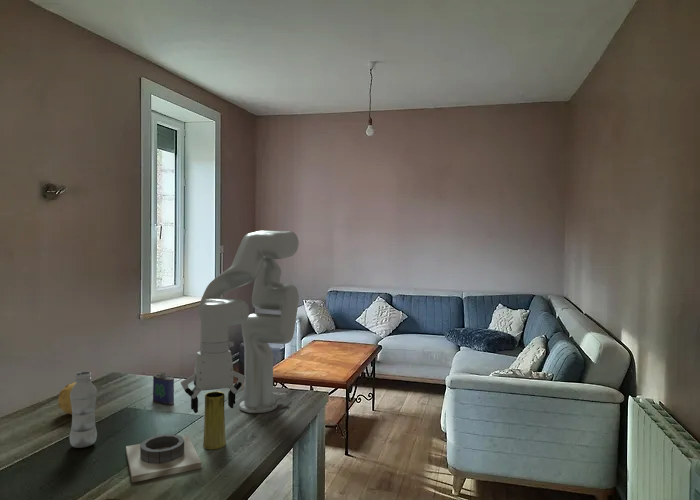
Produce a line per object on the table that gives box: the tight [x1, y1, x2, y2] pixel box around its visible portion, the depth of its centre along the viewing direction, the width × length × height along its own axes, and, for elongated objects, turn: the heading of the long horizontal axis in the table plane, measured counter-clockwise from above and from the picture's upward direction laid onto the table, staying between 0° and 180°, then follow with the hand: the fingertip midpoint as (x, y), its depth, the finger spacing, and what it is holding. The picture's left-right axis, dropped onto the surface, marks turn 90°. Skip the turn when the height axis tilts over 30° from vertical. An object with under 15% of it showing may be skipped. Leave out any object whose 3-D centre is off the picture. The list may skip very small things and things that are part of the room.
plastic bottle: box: [69, 371, 98, 449], centre depth 136 cm, size 6×7×20 cm
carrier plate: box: [125, 433, 202, 483], centre depth 129 cm, size 16×18×4 cm
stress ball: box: [57, 382, 76, 416], centre depth 159 cm, size 10×10×10 cm
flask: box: [152, 371, 175, 406], centre depth 171 cm, size 9×3×11 cm, turn 61°
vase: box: [202, 390, 227, 450], centre depth 138 cm, size 6×6×14 cm
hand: (213, 409), depth 137 cm, fingers open, 9 cm apart
